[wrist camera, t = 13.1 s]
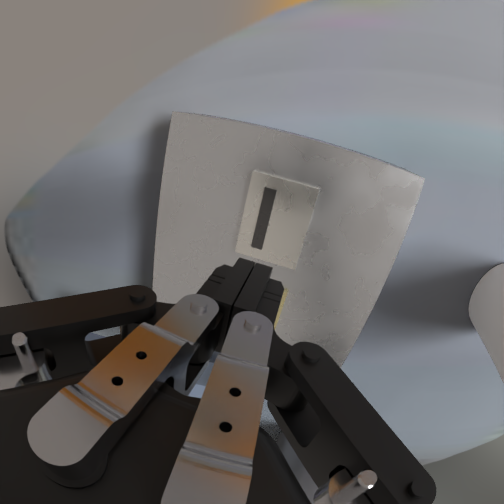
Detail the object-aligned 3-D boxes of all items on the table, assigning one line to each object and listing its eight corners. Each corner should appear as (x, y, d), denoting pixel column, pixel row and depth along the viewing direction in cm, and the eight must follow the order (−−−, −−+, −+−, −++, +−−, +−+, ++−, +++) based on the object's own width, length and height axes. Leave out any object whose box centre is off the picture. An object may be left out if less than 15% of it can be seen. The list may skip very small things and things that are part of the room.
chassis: (323, 367, 31) (320, 404, 26) (171, 318, 33) (148, 348, 28) (406, 169, 21) (427, 180, 16) (199, 113, 24) (168, 111, 18)
